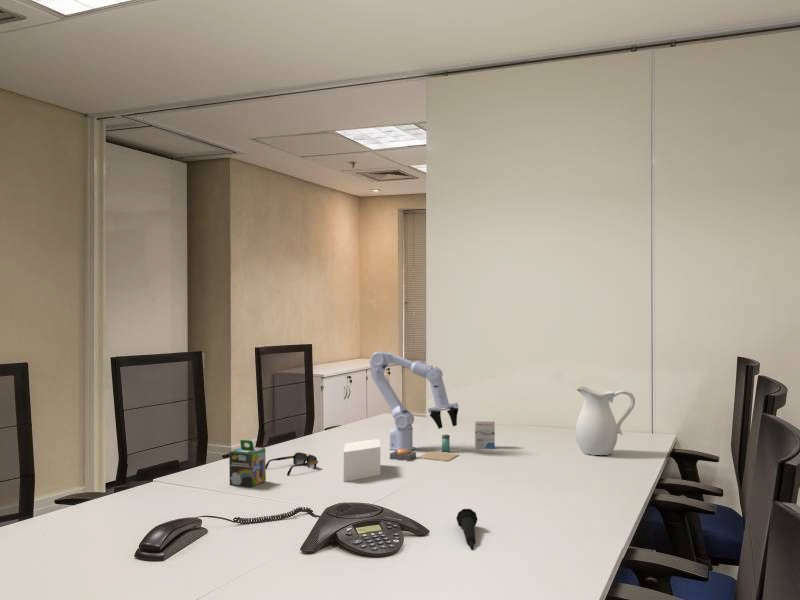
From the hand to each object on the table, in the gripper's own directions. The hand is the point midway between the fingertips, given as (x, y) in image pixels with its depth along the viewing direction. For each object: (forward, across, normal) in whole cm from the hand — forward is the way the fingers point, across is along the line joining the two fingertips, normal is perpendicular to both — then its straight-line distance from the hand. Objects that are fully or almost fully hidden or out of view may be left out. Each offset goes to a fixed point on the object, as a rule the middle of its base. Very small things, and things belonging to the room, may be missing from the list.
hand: (447, 427), depth 286 cm
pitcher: (+27, -48, -38) cm, 67 cm away
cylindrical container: (+10, +4, +1) cm, 11 cm away
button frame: (+6, +9, +23) cm, 25 cm away
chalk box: (-3, +24, +89) cm, 92 cm away
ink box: (+14, -4, -18) cm, 23 cm away
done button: (+5, +9, +23) cm, 25 cm away
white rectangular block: (+5, +5, +53) cm, 53 cm away
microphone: (+18, -61, +89) cm, 110 cm away
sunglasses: (-2, +28, +65) cm, 70 cm away
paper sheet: (+10, 0, +11) cm, 15 cm away
